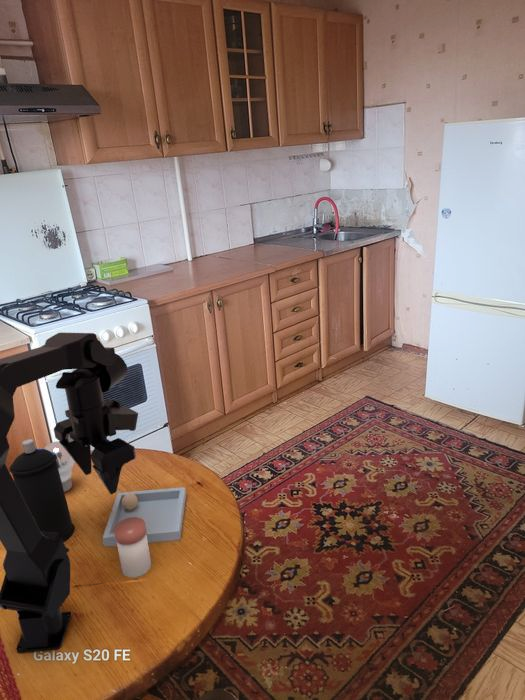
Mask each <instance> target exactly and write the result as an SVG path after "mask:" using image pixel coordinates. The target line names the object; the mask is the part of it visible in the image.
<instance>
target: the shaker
mask: <svg viewBox="0 0 525 700" xmlns="http://www.w3.org/2000/svg"><path fill="white" fill-rule="evenodd" d="M114 534H115V539H116V541H117V546H116V547H117V552H118V556H119V561H120V562H119V563H120V566H121V572H122V574H123V575H124V576H125V577H128V578H138V577H142V576H143V575H145V574H146V573H148V572H149V571H150V569H151V568H152V559H151V554H150V549H149V543H148V541H147V535H146V525H145V521H144V520H143V519H141V518H138V517H130V518H126V519H124V520H122V521H120V522H119V523H117V524H116V526H115V527H114ZM137 580H139V578H138V579H133V581H137Z"/></svg>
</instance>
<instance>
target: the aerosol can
mask: <svg viewBox="0 0 525 700" xmlns="http://www.w3.org/2000/svg"><path fill="white" fill-rule="evenodd" d="M21 444H22V448H23V452H22V453H20V454H19V455H18V456H16V458H15V459H14V460H13V462H12V463H11V464H10V466H9V469H8V471H9V472H10V474H12V475H11V476H12V478H13V480H14V482H15V484H16V486H17V488H18V490H19V491H20V493H21V495H22V497H23V499H24V501H25V503H26V505H27V507H28V509H29V511H30V512H31V514H32V516H33V518H34V520H35V522H36V524H37V526H38V528H39V530H40V531H44V532H52V533H59V534H60V535H61V537H62V538H63V542H64V543H65V541H67V540H68V539H70V537H72V535H73V534H74V532H75V525H74V523H73V521H72V518H71V514H70V513H71V512H70V510H69V506H68V502H67V497H66V492H64V489H63V485H62V482H61V478H60V474H59V470H58V466H57V462H56V459H57V456H56V454H55V453H53V452H51V451H48V450H46V449H44V448H36V446H35V441H34V439H31V438H30V439H29V438H28V439H26V440H24V441H22V443H21Z"/></svg>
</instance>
